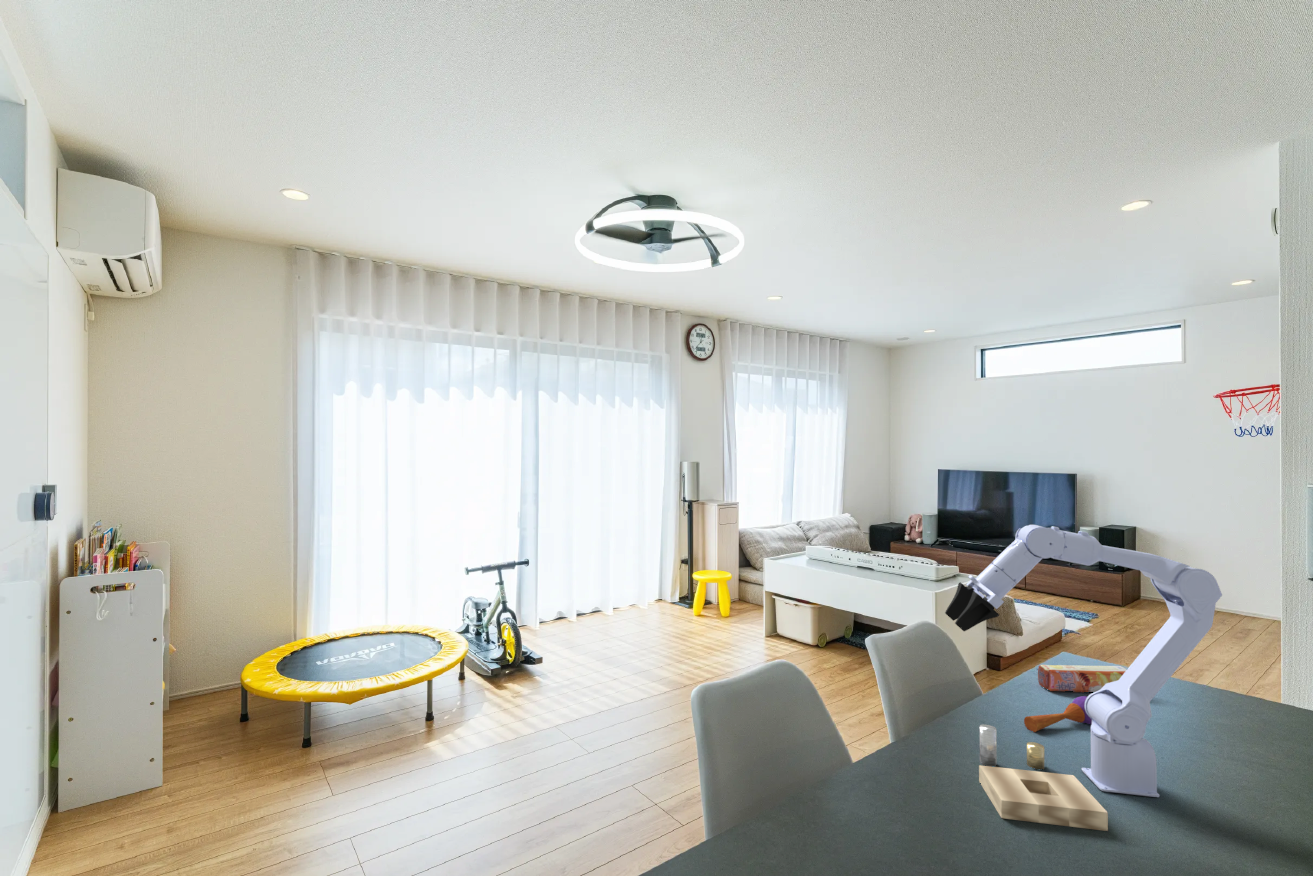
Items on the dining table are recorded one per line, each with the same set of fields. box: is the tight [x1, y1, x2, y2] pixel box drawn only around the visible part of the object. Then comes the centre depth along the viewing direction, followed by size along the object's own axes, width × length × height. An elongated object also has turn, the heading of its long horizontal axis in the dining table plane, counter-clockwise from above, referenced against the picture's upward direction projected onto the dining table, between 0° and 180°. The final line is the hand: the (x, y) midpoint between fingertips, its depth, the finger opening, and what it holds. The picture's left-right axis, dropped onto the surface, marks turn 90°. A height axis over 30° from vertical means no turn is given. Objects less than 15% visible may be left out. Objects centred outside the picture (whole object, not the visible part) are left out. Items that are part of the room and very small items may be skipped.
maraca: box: [1023, 695, 1092, 733], centre depth 140 cm, size 6×6×20 cm
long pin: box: [979, 724, 998, 767], centre depth 122 cm, size 3×3×7 cm
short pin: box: [1026, 741, 1045, 771], centre depth 121 cm, size 3×3×4 cm
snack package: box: [1037, 664, 1128, 693], centre depth 162 cm, size 21×7×7 cm, turn 84°
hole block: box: [978, 764, 1109, 832], centre depth 108 cm, size 16×12×3 cm
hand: (954, 622), depth 122 cm, fingers open, 7 cm apart
